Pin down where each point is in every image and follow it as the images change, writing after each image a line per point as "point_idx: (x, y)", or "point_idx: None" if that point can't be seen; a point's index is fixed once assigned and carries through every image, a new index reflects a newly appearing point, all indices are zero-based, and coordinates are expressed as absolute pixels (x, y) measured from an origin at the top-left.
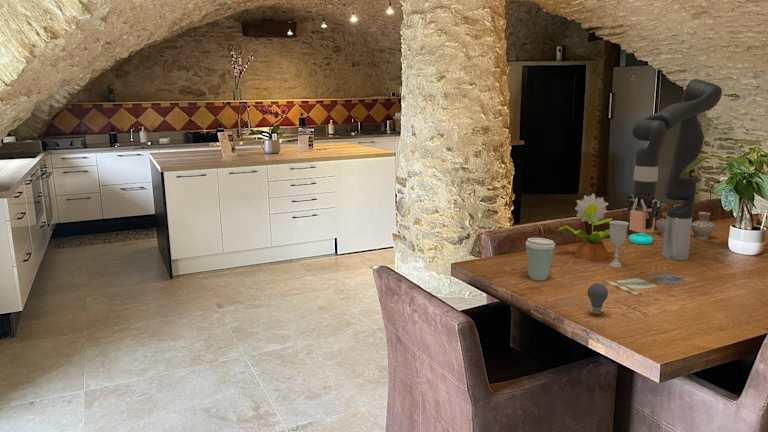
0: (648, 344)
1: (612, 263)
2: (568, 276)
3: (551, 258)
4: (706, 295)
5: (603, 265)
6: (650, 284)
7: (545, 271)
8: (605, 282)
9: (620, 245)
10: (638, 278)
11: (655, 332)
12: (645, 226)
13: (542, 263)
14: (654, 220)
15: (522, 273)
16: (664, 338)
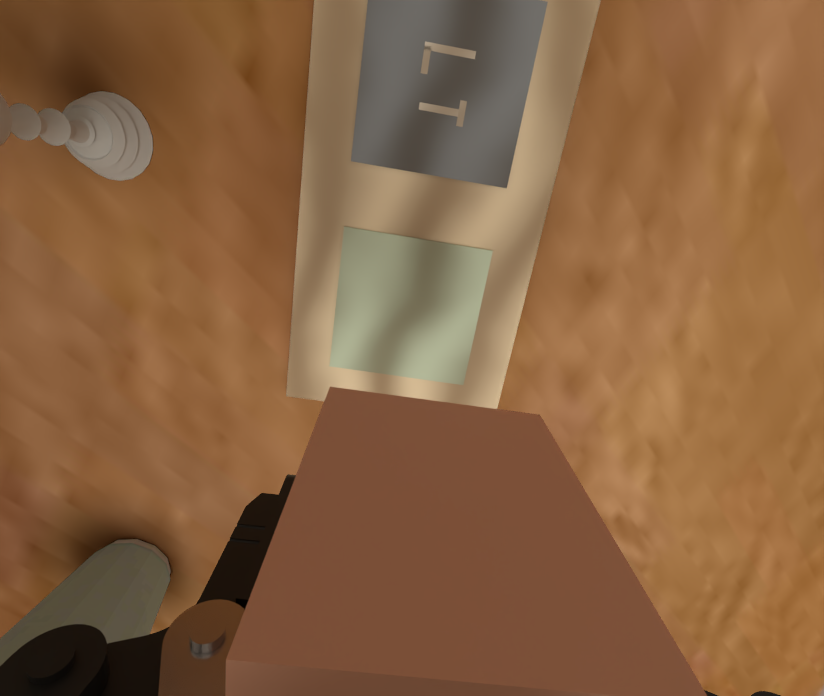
0: (746, 668)
1: (94, 164)
2: (161, 459)
3: (114, 629)
4: (702, 127)
5: (46, 164)
6: (455, 263)
7: (157, 601)
8: (307, 396)
9: (9, 111)
10: (356, 233)
11: (724, 606)
12: None
13: None
14: (600, 524)
15: (57, 575)
16: (761, 616)
